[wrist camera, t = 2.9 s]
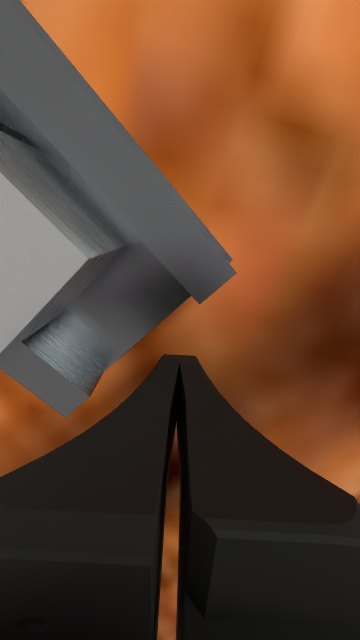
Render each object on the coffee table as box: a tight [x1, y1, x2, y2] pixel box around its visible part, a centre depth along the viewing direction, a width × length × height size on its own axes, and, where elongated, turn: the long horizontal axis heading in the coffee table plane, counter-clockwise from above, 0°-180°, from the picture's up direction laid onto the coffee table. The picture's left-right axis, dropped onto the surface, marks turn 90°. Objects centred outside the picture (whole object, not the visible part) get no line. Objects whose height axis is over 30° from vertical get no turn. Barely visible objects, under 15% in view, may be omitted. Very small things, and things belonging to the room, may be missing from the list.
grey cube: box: [0, 131, 128, 357], centre depth 7 cm, size 4×4×4 cm
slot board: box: [0, 0, 236, 418], centre depth 8 cm, size 13×9×3 cm
